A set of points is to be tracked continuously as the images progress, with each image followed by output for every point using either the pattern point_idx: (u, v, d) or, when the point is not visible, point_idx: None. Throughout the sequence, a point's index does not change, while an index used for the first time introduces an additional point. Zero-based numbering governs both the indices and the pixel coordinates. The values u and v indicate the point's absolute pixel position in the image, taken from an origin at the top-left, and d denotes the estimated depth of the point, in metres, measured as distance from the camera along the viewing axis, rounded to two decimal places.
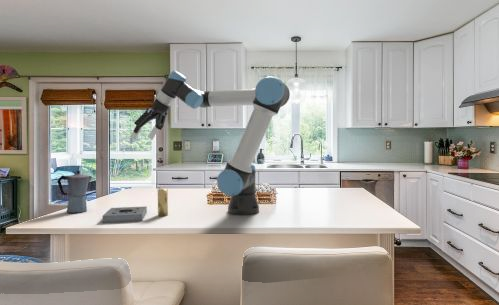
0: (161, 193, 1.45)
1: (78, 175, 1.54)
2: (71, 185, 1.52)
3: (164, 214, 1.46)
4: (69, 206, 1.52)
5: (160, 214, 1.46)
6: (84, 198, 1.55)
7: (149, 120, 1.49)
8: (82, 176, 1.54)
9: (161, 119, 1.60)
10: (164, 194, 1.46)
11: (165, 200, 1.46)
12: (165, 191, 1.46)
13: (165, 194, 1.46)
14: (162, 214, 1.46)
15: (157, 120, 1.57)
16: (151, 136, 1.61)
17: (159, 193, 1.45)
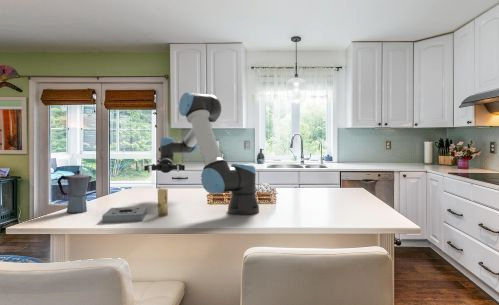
0: (161, 193, 1.45)
1: (78, 175, 1.54)
2: (71, 185, 1.52)
3: (164, 214, 1.46)
4: (69, 206, 1.52)
5: (160, 214, 1.46)
6: (84, 198, 1.55)
7: (156, 165, 1.67)
8: (82, 176, 1.54)
9: None
10: (164, 194, 1.46)
11: (165, 200, 1.46)
12: (165, 191, 1.46)
13: (165, 194, 1.46)
14: (162, 214, 1.46)
15: (172, 167, 1.68)
16: (177, 168, 1.60)
17: (159, 193, 1.45)
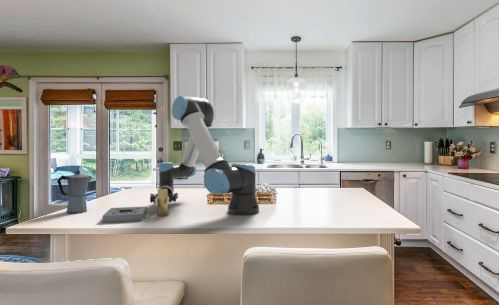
0: (161, 193, 1.45)
1: (78, 175, 1.54)
2: (71, 185, 1.52)
3: (164, 214, 1.46)
4: (69, 206, 1.52)
5: (160, 214, 1.46)
6: (84, 198, 1.55)
7: None
8: (82, 176, 1.54)
9: None
10: (164, 194, 1.46)
11: (165, 200, 1.46)
12: (165, 191, 1.46)
13: (165, 194, 1.46)
14: (162, 214, 1.46)
15: None
16: None
17: (159, 193, 1.45)
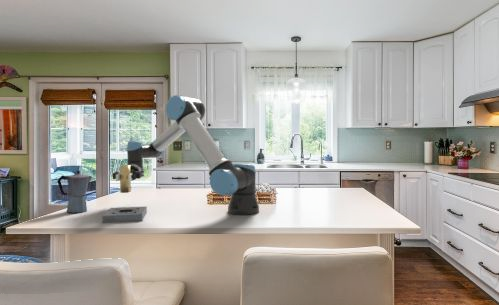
0: (123, 169, 1.41)
1: (78, 175, 1.54)
2: (71, 185, 1.52)
3: (126, 190, 1.41)
4: (69, 206, 1.52)
5: (122, 190, 1.41)
6: (84, 198, 1.55)
7: None
8: (82, 176, 1.54)
9: None
10: (126, 170, 1.41)
11: (127, 176, 1.42)
12: (127, 167, 1.41)
13: (127, 170, 1.42)
14: (124, 190, 1.41)
15: None
16: None
17: (121, 169, 1.41)
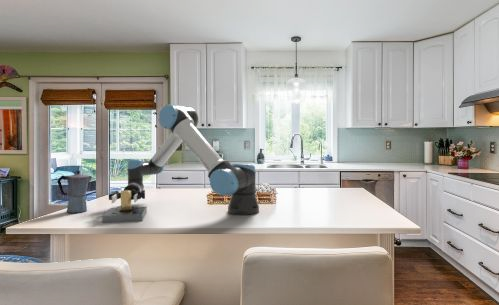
0: (124, 195, 1.41)
1: (78, 175, 1.54)
2: (71, 185, 1.52)
3: None
4: (69, 206, 1.52)
5: None
6: (84, 198, 1.55)
7: None
8: (82, 176, 1.54)
9: None
10: (127, 196, 1.42)
11: (128, 202, 1.42)
12: (128, 193, 1.42)
13: (128, 196, 1.42)
14: None
15: (134, 194, 1.51)
16: (134, 197, 1.41)
17: (122, 195, 1.41)
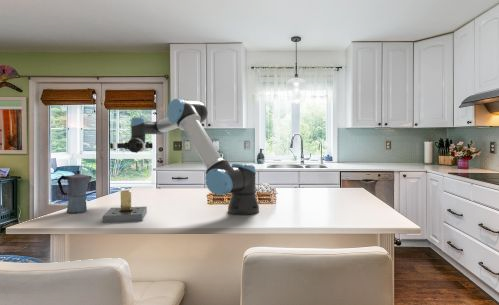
0: (124, 195, 1.41)
1: (78, 175, 1.54)
2: (71, 185, 1.52)
3: None
4: (69, 206, 1.52)
5: None
6: (84, 198, 1.55)
7: (123, 143, 1.62)
8: (82, 176, 1.54)
9: None
10: (127, 196, 1.42)
11: (128, 202, 1.42)
12: (128, 193, 1.42)
13: (128, 196, 1.42)
14: None
15: (140, 145, 1.63)
16: (143, 145, 1.54)
17: (122, 195, 1.41)
